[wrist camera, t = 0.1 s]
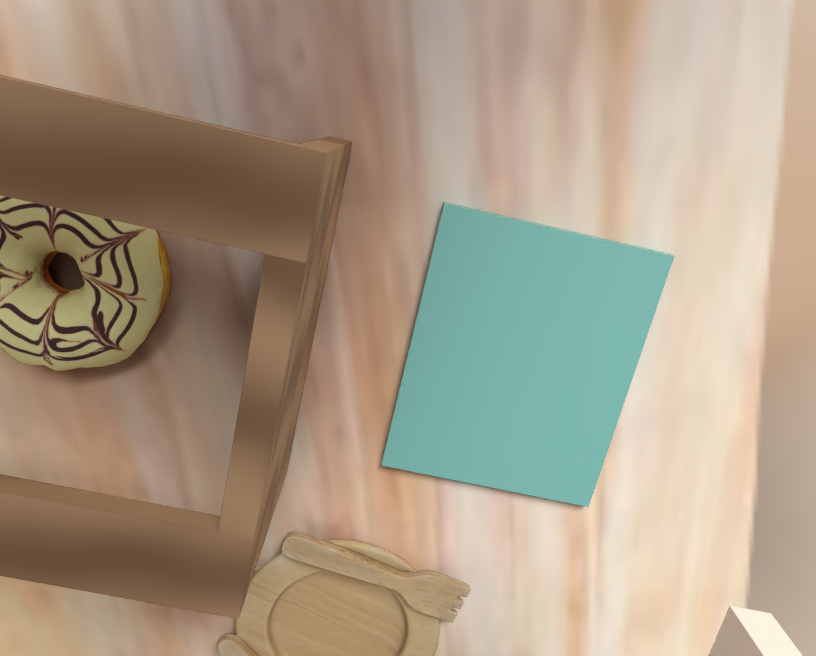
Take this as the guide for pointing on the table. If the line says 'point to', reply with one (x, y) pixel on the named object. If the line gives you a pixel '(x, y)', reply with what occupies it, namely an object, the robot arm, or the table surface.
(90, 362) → the decorated donut
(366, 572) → the tableware set
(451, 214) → the mat
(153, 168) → the box
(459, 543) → the table surface
